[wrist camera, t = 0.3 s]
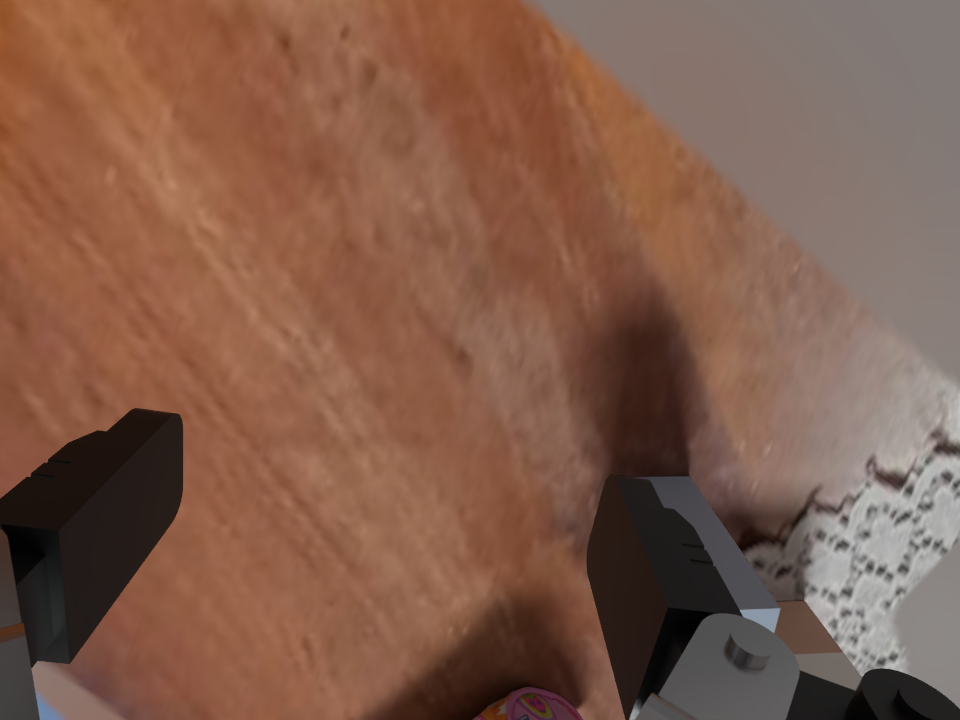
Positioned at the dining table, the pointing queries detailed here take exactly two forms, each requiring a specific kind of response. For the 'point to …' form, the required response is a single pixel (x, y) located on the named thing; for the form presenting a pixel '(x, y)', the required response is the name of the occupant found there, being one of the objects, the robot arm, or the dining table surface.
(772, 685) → the robot arm
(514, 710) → the pencil case
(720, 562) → the blue brick
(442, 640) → the dining table surface
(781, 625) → the tower base
